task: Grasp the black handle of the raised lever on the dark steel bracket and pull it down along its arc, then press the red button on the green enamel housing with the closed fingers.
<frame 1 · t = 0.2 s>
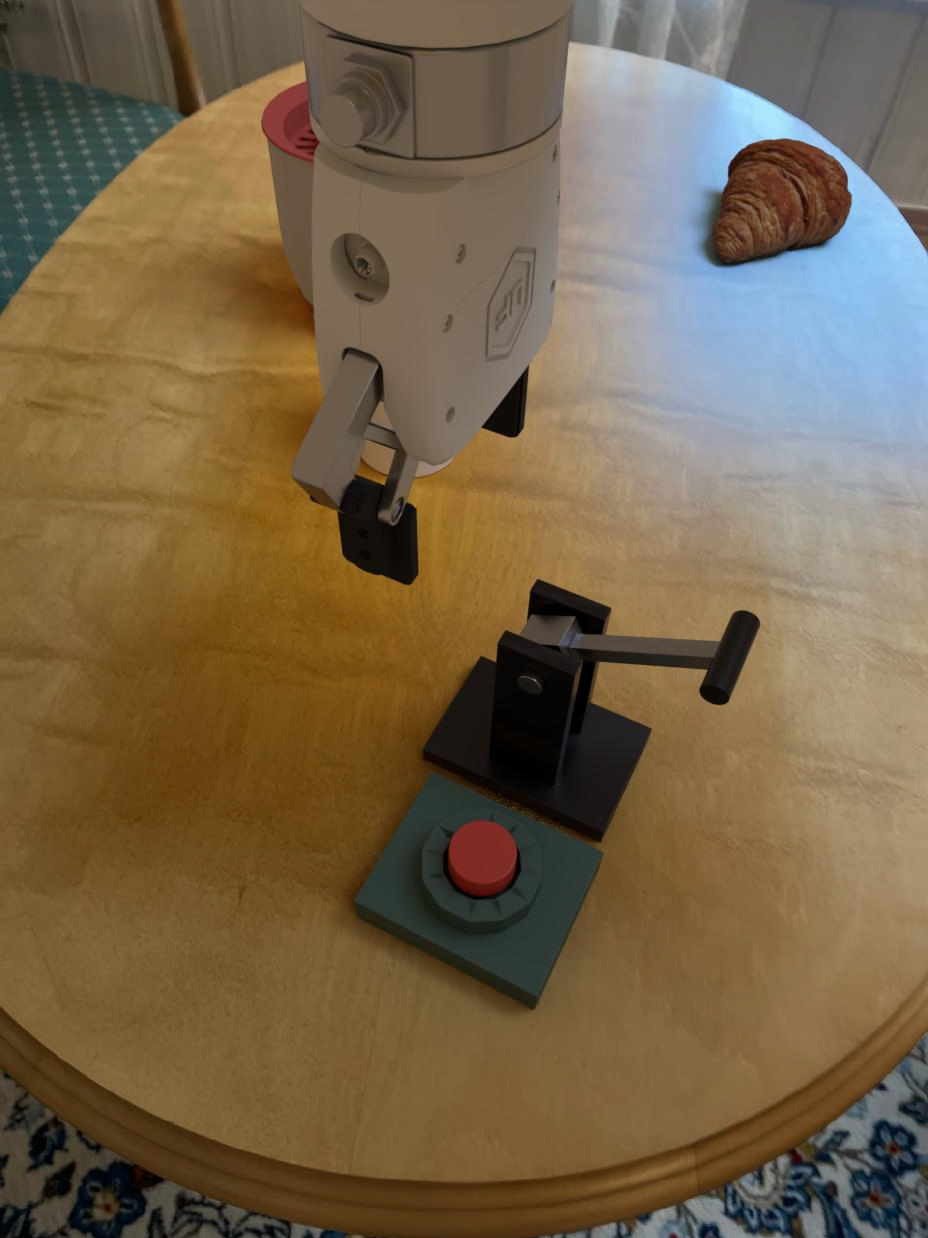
hand: (438, 492, 41), 24 cm above the table, tool pointing down, fingers open, 9 cm apart
cup: (408, 444, 78), on the table
button box: (479, 891, 55), on the table
pastry: (776, 225, 100), on the table
lever: (630, 650, 50), point 13 cm above the table, hinge at 28.0°
button: (482, 858, 52), point 4 cm above the table, slide at 0.1 cm
citrus juicer: (380, 300, 91), on the table
bracket: (536, 749, 61), on the table
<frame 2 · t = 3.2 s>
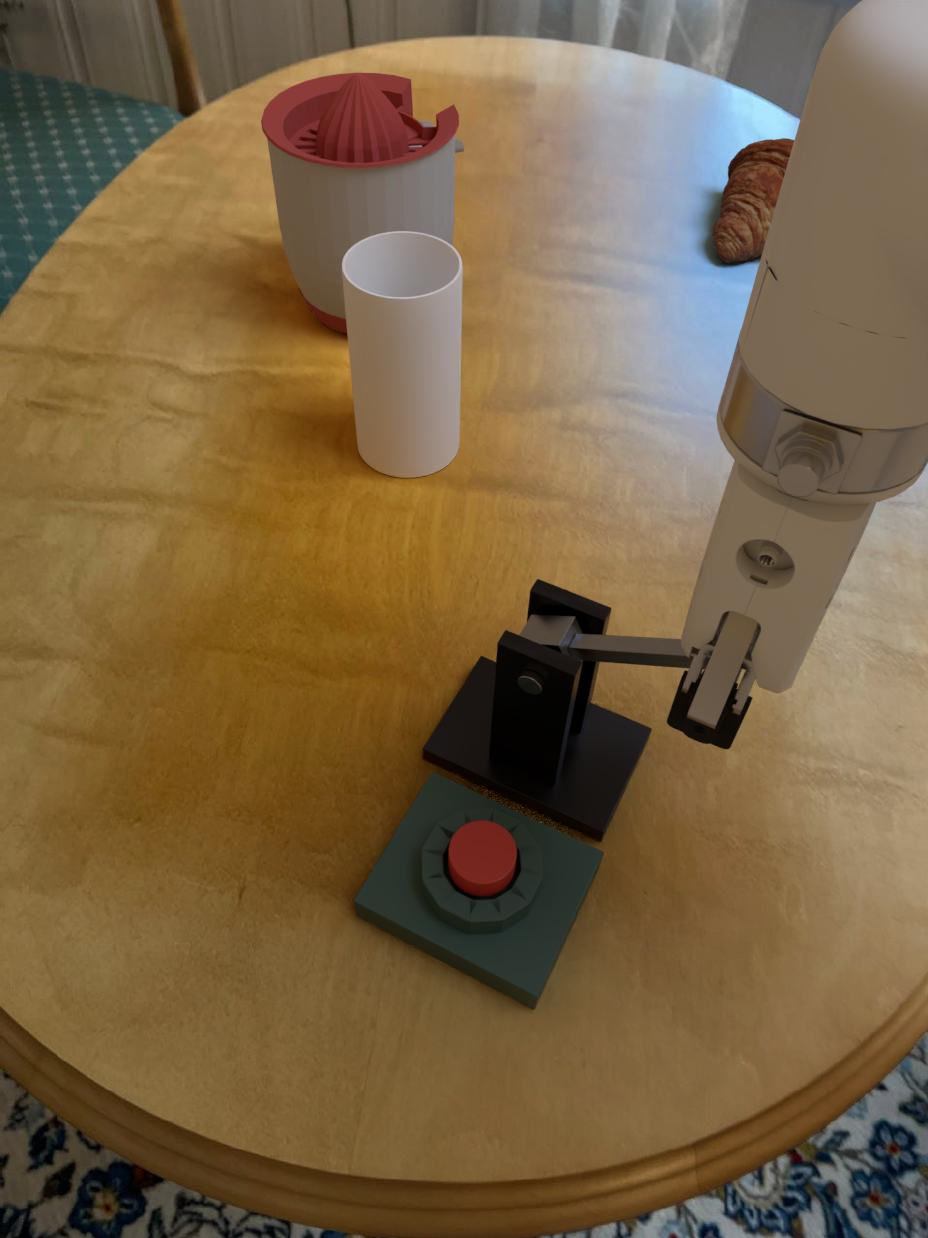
hand: (718, 686, 48), 13 cm above the table, tool pointing down, fingers closed on lever, 5 cm apart
lever: (629, 650, 50), point 13 cm above the table, hinge at 28.0°, touching gripper
everything else where it was.
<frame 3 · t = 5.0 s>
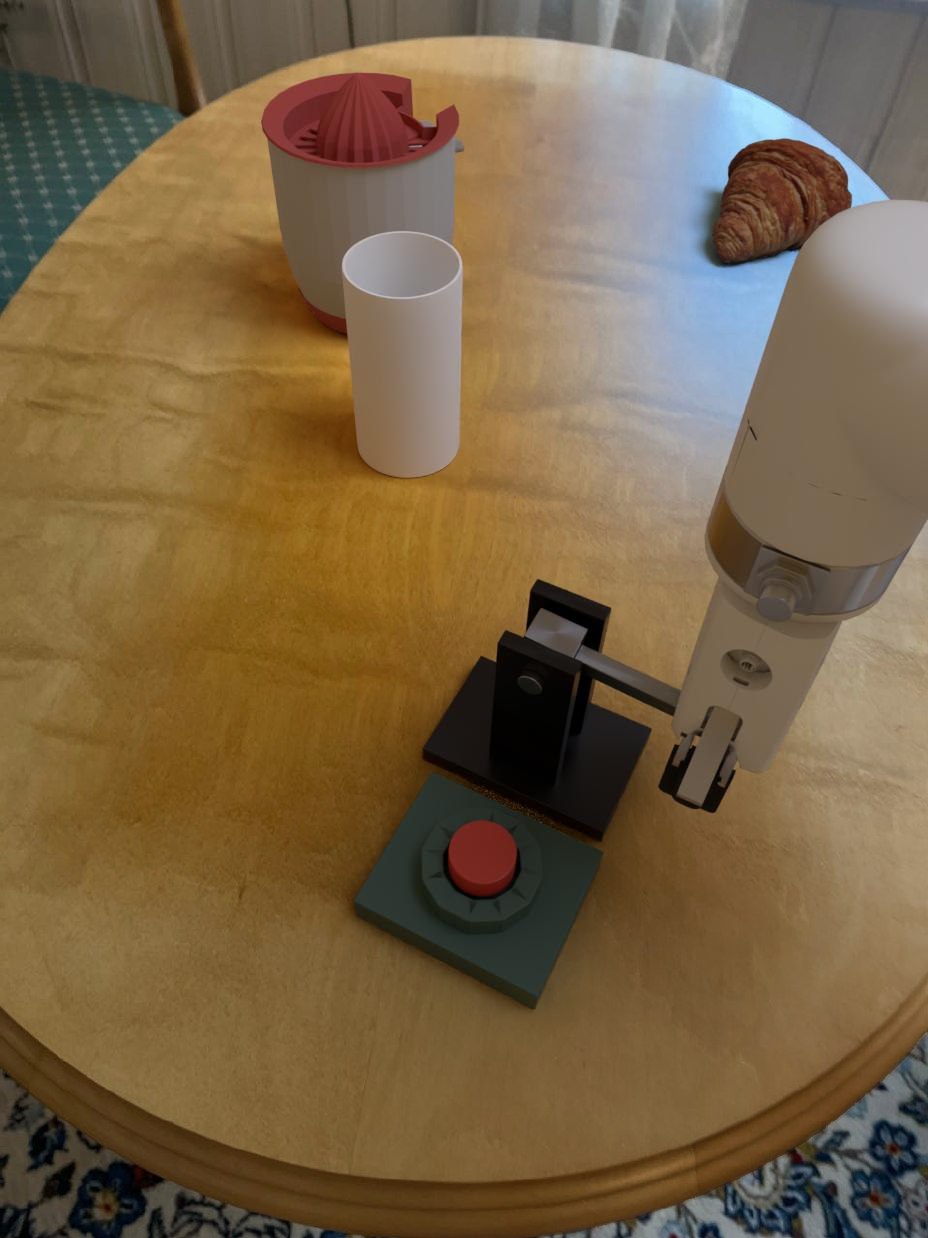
hand: (705, 753, 53), 7 cm above the table, tool pointing down, fingers closed on lever, 5 cm apart
lever: (631, 682, 51), point 11 cm above the table, hinge at -4.6°, touching gripper
everything else where it was.
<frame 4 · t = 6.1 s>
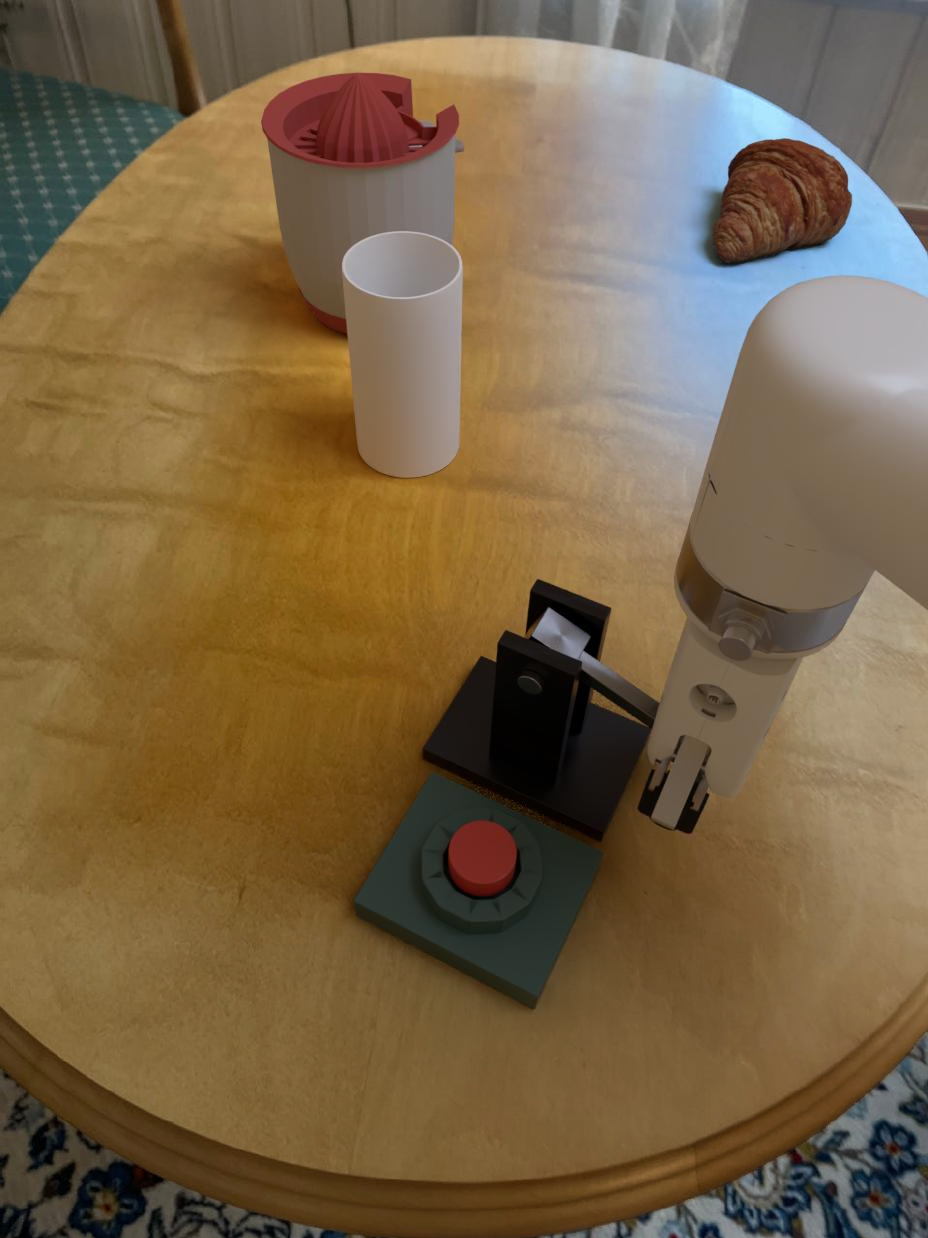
hand: (683, 774, 55), 4 cm above the table, tool pointing down, fingers open, 5 cm apart
lever: (623, 693, 53), point 9 cm above the table, hinge at -20.8°
everything else where it was.
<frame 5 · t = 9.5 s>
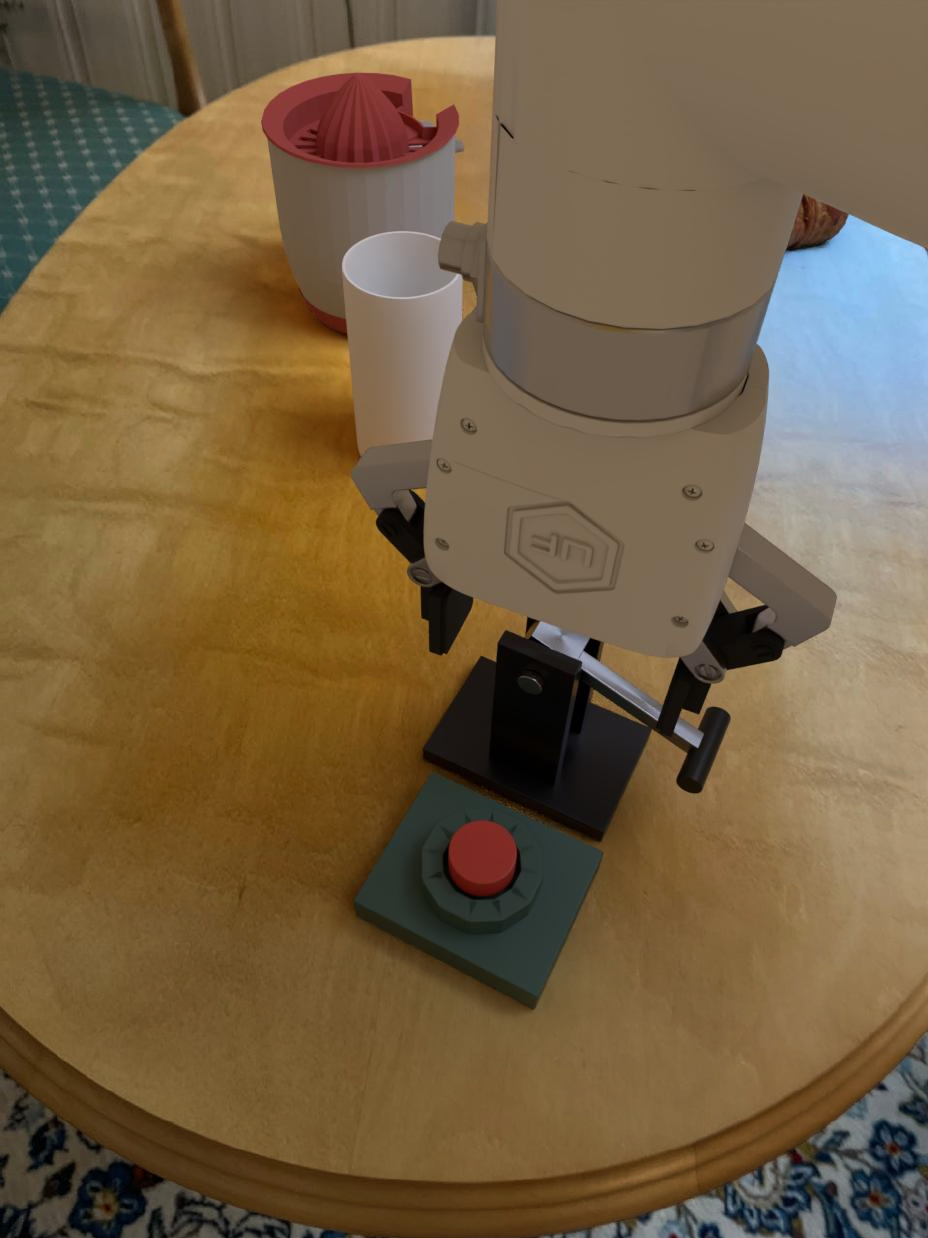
hand: (559, 667, 40), 20 cm above the table, tool pointing down, fingers open, 9 cm apart
nothing on the table moved.
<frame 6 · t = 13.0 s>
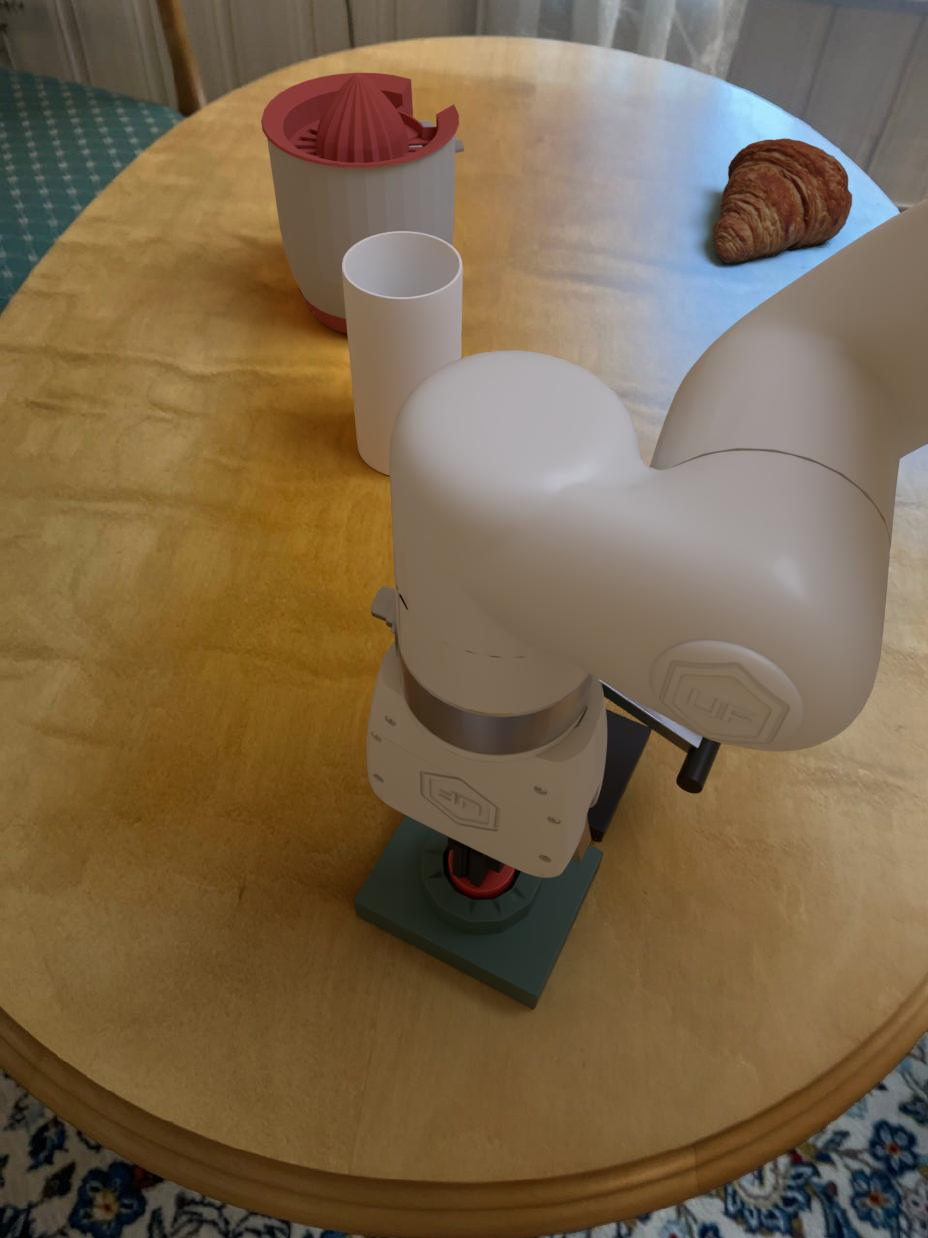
hand: (478, 858, 52), 4 cm above the table, tool pointing down, fingers closed
button: (481, 866, 53), point 3 cm above the table, slide at -0.9 cm, touching gripper
everything else where it was.
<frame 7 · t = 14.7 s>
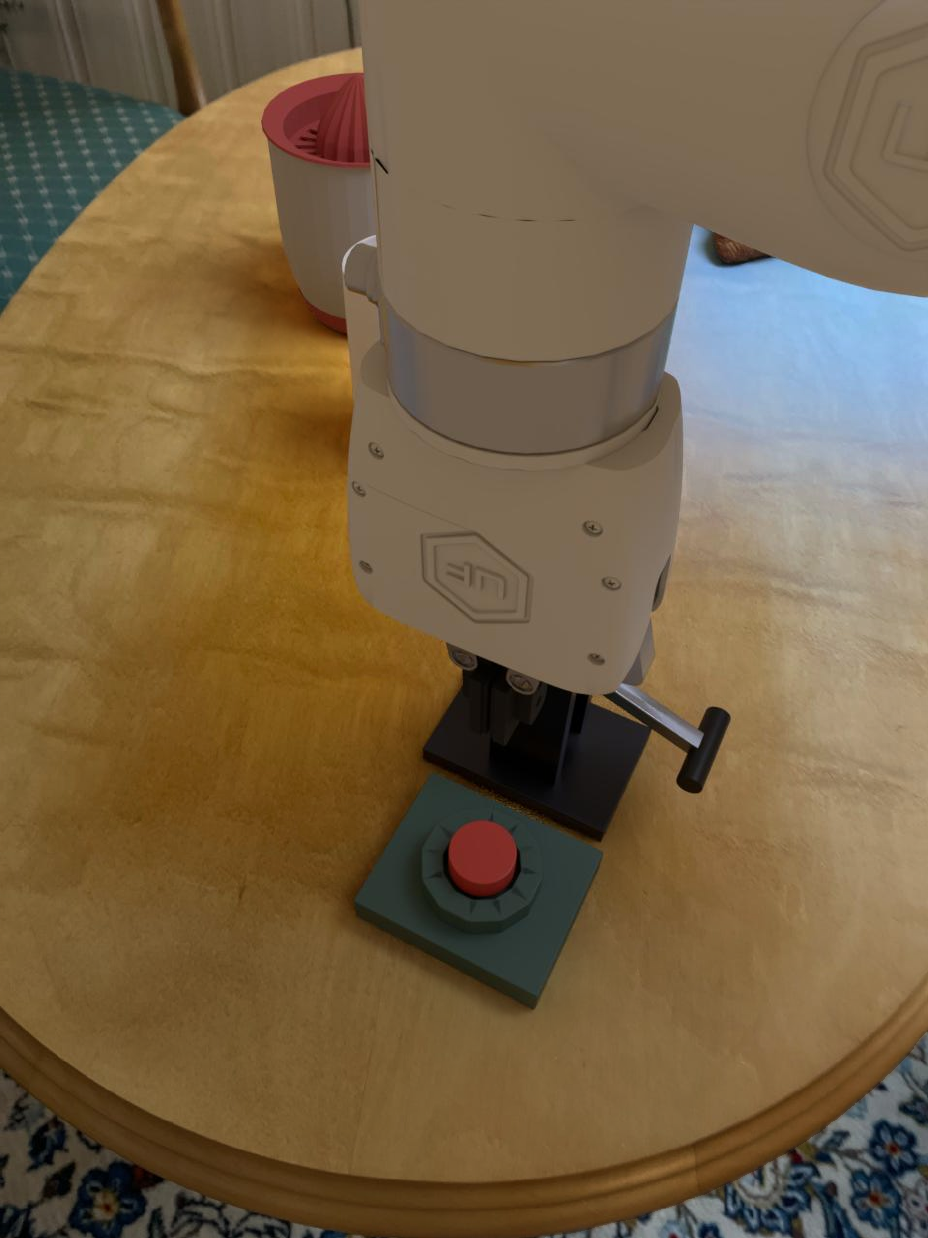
hand: (503, 711, 40), 19 cm above the table, tool pointing down, fingers closed
button: (482, 858, 52), point 4 cm above the table, slide at 0.1 cm
everything else where it was.
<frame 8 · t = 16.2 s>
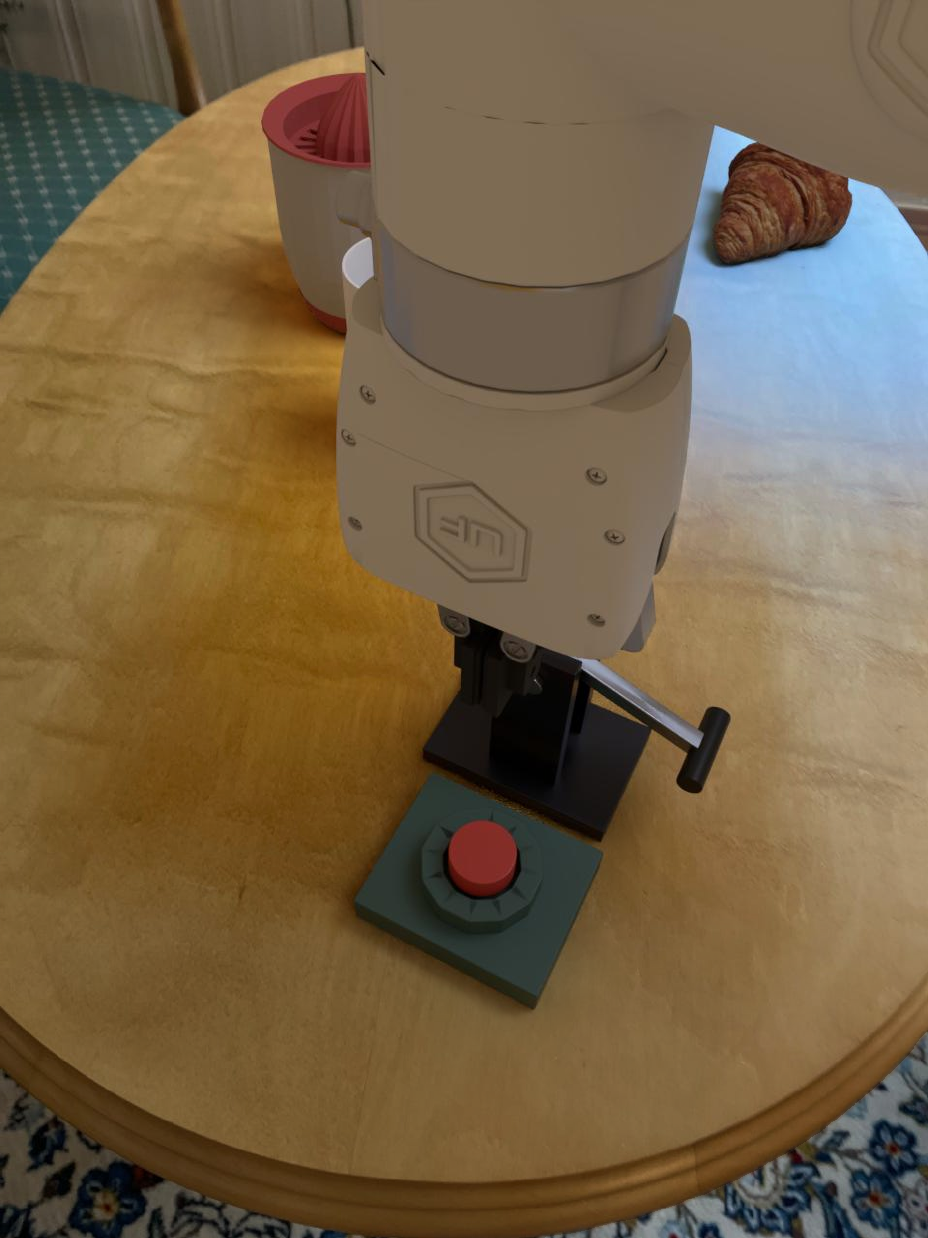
hand: (495, 682, 39), 21 cm above the table, tool pointing down, fingers closed
nothing on the table moved.
at the end: lever at -21° (first picture: +28°); button pushed in 1.1 cm at the most during the clip, back to where it started at the end; pastry moved 0.2 cm from its start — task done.
